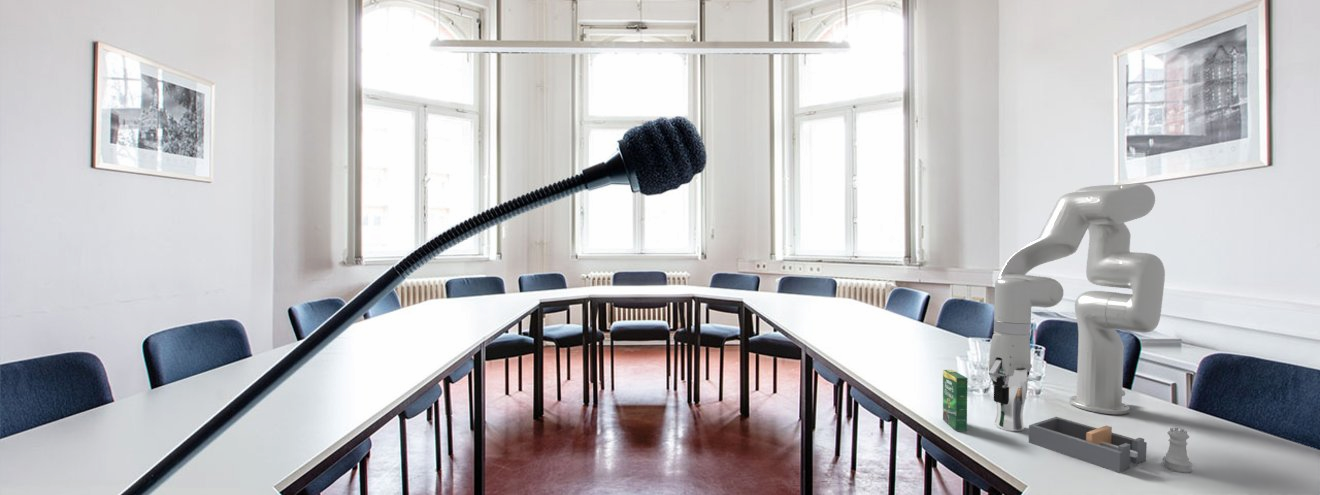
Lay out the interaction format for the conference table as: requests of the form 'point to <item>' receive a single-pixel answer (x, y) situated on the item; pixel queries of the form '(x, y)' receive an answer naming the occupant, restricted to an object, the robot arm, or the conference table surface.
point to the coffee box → (955, 400)
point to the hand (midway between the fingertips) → (1010, 399)
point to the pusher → (1104, 438)
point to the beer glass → (1013, 402)
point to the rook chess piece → (1177, 452)
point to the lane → (1086, 444)
